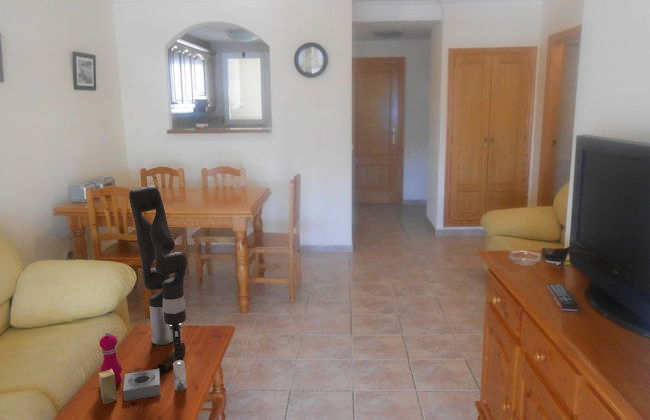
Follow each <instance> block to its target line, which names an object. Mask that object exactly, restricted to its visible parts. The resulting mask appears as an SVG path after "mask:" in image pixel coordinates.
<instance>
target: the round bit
mask: <svg viewBox="0 0 650 420" xmlns="http://www.w3.org/2000/svg"><path fill="white" fill-rule="evenodd" d="M185 363H186V362H185V361H184V360H181V359H177V360H176V361H175V362H174V363H173V364H172V366H173V367H172V369H173V383H174V390H175V391H176V392H183V391H185V390H186V389H187V376H186V364H185Z"/></svg>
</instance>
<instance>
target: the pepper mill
mask: <svg viewBox="0 0 650 420" xmlns="http://www.w3.org/2000/svg"><path fill="white" fill-rule="evenodd" d="M98 343H99V346H100V348H101V354H102V356H103V362H102V365H101V368H100V372H103V371H106V370H110V369H112V370H113V372H114V374H115V382H116V385H118V384H120V383H121V382H122V375H121V373H122V370H123V368H122V365H121V363H120V361H119V360H118V358H117V354H116V353H117V344H118V339H117V337H116V335H113V334H111V332H110V331H106V332H105V333H104V335H103V336H102V337H100V339H99V342H98Z"/></svg>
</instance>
